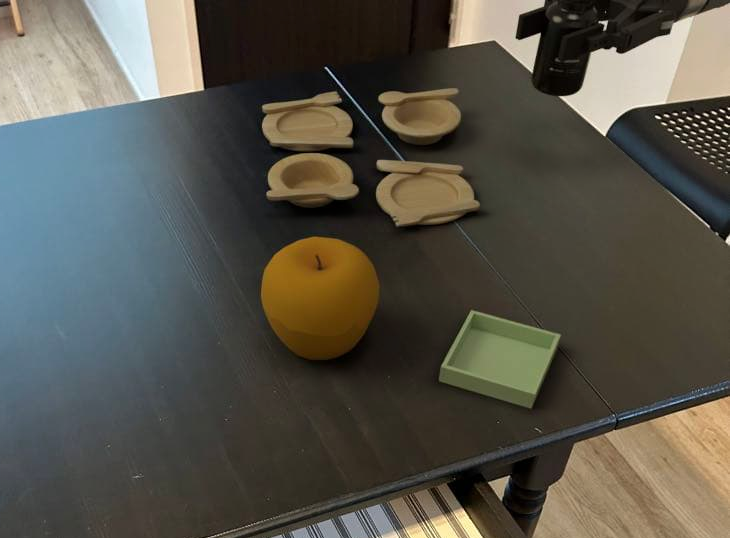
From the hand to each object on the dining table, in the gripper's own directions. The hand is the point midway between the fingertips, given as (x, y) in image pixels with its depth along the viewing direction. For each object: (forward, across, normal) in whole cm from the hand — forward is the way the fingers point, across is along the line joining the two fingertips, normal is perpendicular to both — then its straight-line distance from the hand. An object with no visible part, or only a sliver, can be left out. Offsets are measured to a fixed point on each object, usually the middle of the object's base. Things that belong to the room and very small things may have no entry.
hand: (540, 38), depth 102 cm
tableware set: (+16, +14, -18) cm, 28 cm away
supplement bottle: (-5, 0, -7) cm, 9 cm away
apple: (+43, -13, -18) cm, 48 cm away
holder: (+29, -28, -18) cm, 44 cm away
